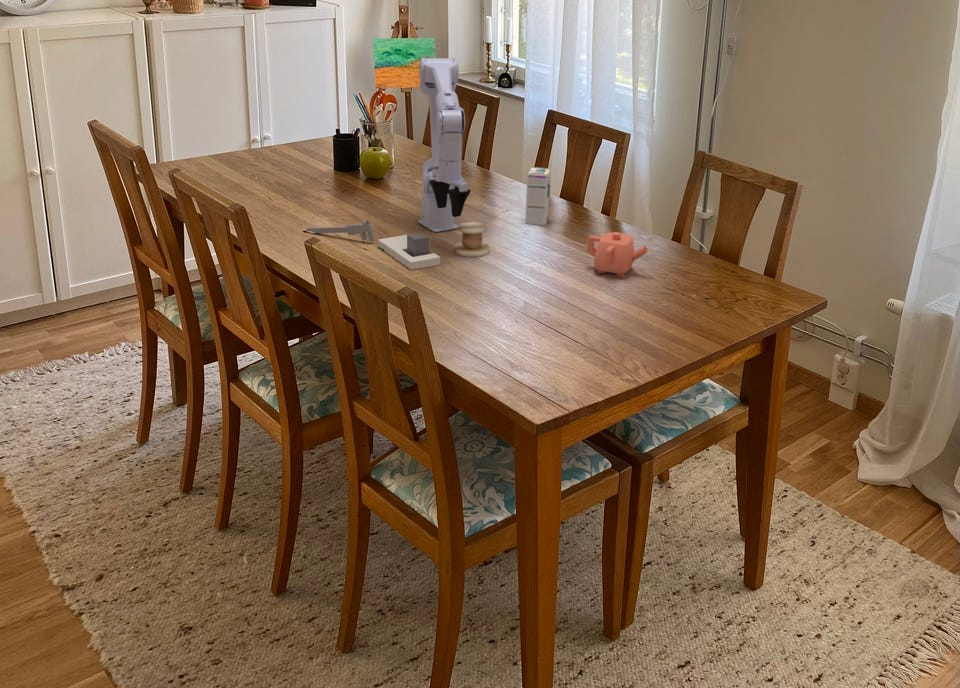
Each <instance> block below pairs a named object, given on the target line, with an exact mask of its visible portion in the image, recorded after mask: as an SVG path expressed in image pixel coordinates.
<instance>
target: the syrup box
mask: <svg viewBox="0 0 960 688" xmlns="http://www.w3.org/2000/svg"><path fill="white" fill-rule="evenodd" d="M551 171H552V170H551V169H550V168H546V167H530V170H529V171H528V172H527V174H526V175H527V177H526V178H527V179H526V195H525V196H526V197H525V198H526V199H525V201H526V202H525V205H526V206H525V224H528V225H533V226H534V225H535V226H536V225H537V226H546V225H547V222H548V221H549V218H550V201H551V198H550V196H551V195H550V194H551V178H552V177H551V174H552V172H551Z"/></svg>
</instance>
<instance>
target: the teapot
mask: <svg viewBox="0 0 960 688" xmlns="http://www.w3.org/2000/svg"><path fill="white" fill-rule="evenodd" d="M595 242H597V245H596V247H594V246H595ZM586 252H587V253H588V254H590V255H591V256H592V257H593V258H594V259H593V266H594V269H595V270H597V273H598V272H599V273H604V274H606V273H612V274H615V275H618V276H623V275H624V276H625V274H626V273H628V271H630V270H631V268H632V266H633V265H634V261H636V260H639V258H641V257H643V256H644V255H646V254H647V253H649V249H648V248H647V246H646V245H643V246H642V247H640V248H639V249H638V250H636V251H635V245H634V238H633V236H632V235H630V234H629V235H628V234H624V233H622V232H620V231H619V232H618V231H614V232H610V231H607V232H605V233H604V234H603V235H602V236H597V235H590V236H589V238H588V243H587V247H586ZM599 273H598V274H599ZM618 276H617V277H618Z"/></svg>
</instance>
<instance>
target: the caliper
mask: <svg viewBox="0 0 960 688" xmlns="http://www.w3.org/2000/svg"><path fill="white" fill-rule="evenodd" d="M361 222H362V223H355V224H346V225H344V226H341V225H340V226H315V227H314V226H313V227H307V228H306V229H305V230H307V231H312V232H315V233H319V234H341V233H342V234H343V233H344V234H345V233H346V234H347V235H348V236H356V235H359V237H360V238H361V240H362V241H363V240H366V239H367V240H369V242H370V241H371V242H372V241H375V239H374V228H373V225H372V223H370V220H369V219H367V220H365V219H364V220H362V221H361ZM367 236H368V238H367ZM372 243H373V242H372Z"/></svg>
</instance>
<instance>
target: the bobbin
mask: <svg viewBox="0 0 960 688" xmlns="http://www.w3.org/2000/svg"><path fill="white" fill-rule="evenodd" d="M458 225H459V228H458V231H459V232H461V235H462V237H461V238H462V239H461V240H462V241H461V242H457V243H455V244H454V246H453V247H454V248H453V251H454V253H455V254H457V256H458V255H459V256H462V257H465V258H466V257H467V258H479V257H484V256H487V255H489V254H490V248H491V247H490V245H489V244H488V243H485V242H483V234H484V233H485V232H487V225H486V224H484V223H482V222H478V221H477V222H476V221H466V222H462V223H459V224H458Z"/></svg>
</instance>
